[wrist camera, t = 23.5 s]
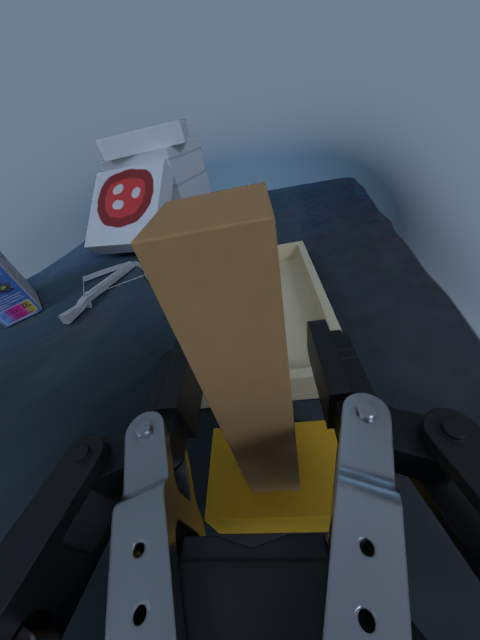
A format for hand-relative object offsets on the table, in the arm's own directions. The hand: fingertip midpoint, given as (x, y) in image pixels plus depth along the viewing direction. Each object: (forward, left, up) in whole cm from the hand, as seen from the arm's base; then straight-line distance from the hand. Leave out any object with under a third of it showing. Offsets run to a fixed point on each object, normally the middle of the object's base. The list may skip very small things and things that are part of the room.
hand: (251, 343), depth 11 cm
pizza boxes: (-35, +38, -9) cm, 52 cm away
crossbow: (-31, +15, -9) cm, 35 cm away
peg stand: (+1, -3, -9) cm, 10 cm away
